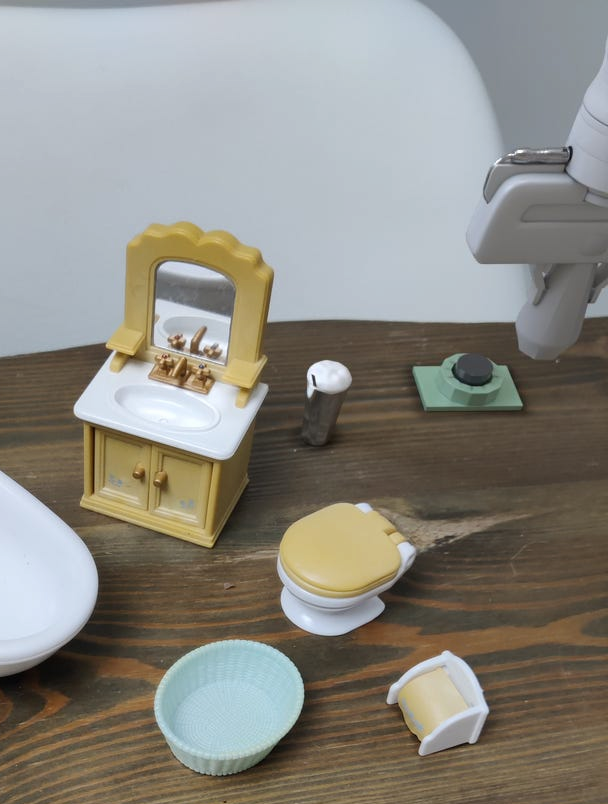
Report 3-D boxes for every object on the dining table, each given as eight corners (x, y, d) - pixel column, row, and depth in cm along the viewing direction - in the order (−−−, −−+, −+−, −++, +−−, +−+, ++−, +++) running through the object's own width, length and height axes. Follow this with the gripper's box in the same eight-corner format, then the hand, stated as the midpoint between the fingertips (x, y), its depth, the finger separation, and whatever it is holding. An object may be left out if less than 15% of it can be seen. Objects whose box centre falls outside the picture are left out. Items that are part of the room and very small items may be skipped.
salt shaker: (507, 360, 91) (559, 231, 81) (507, 323, 94) (558, 195, 84) (571, 371, 90) (633, 242, 80) (570, 333, 94) (628, 205, 83)
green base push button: (504, 370, 115) (511, 352, 113) (521, 410, 111) (528, 393, 108) (411, 371, 114) (417, 353, 112) (425, 411, 110) (431, 394, 108)
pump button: (484, 364, 112) (488, 353, 111) (493, 387, 110) (497, 376, 108) (449, 364, 112) (453, 353, 110) (457, 387, 109) (462, 376, 108)
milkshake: (281, 437, 107) (295, 363, 99) (313, 416, 109) (330, 341, 101) (312, 459, 105) (329, 385, 97) (344, 437, 107) (364, 363, 99)
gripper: (506, 169, 75) (454, 323, 86) (767, 168, 76) (681, 320, 87) (485, 128, 78) (438, 280, 90) (734, 127, 79) (656, 278, 90)
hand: (559, 300), depth 88 cm, fingers closed on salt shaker, 3 cm apart
